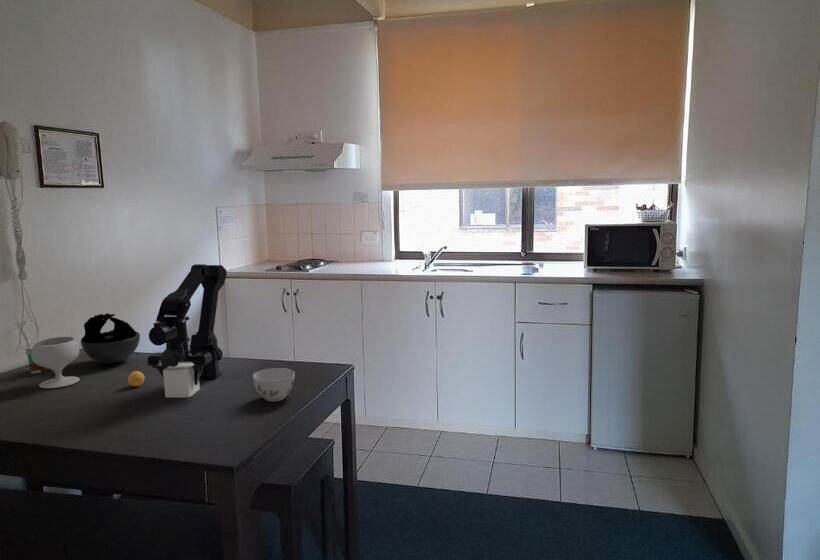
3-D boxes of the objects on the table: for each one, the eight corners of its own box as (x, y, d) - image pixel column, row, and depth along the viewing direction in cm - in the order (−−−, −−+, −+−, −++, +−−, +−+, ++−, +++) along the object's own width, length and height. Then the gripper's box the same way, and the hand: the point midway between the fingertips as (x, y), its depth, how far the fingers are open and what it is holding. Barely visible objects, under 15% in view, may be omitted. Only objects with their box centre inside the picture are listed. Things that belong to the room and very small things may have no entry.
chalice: (86, 375, 211) (81, 334, 208) (78, 387, 198) (73, 343, 195) (41, 380, 206) (36, 338, 204) (30, 393, 193) (24, 348, 191)
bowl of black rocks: (91, 358, 232) (86, 311, 229) (146, 353, 237) (141, 307, 234) (76, 373, 213) (70, 322, 210) (136, 367, 218) (131, 317, 215)
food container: (46, 376, 211) (42, 349, 209) (28, 376, 211) (25, 349, 209) (66, 366, 223) (63, 340, 221) (50, 366, 223) (47, 340, 221)
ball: (148, 383, 199) (146, 369, 198) (140, 388, 194) (138, 373, 193) (133, 383, 199) (132, 369, 199) (125, 388, 195) (124, 374, 194)
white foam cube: (199, 388, 192) (197, 362, 191) (189, 397, 184) (186, 370, 183) (176, 389, 193) (174, 362, 191) (165, 397, 185) (162, 370, 184)
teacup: (279, 408, 173) (277, 382, 172) (245, 403, 178) (243, 377, 177) (308, 391, 186) (307, 367, 185) (276, 387, 192) (275, 363, 190)
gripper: (135, 344, 178) (140, 393, 181) (195, 343, 177) (200, 393, 179) (153, 335, 189) (158, 381, 192) (210, 334, 188) (214, 381, 190)
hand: (182, 384), depth 188 cm, fingers open, 9 cm apart
